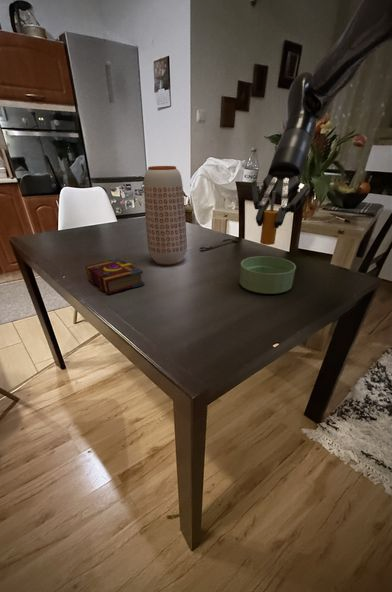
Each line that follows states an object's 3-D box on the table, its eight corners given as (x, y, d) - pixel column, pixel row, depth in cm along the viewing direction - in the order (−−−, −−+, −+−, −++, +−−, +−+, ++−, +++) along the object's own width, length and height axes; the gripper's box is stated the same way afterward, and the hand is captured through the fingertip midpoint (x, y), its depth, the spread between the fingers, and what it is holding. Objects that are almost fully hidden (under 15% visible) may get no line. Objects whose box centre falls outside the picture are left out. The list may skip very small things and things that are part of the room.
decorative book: (108, 296, 76) (104, 278, 74) (86, 279, 87) (82, 262, 84) (144, 285, 82) (142, 268, 79) (120, 270, 92) (117, 255, 90)
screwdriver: (273, 241, 69) (281, 190, 63) (275, 245, 67) (283, 192, 60) (259, 240, 70) (265, 190, 63) (260, 244, 67) (267, 192, 61)
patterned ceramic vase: (189, 266, 95) (187, 167, 79) (149, 269, 93) (139, 168, 77) (184, 254, 106) (182, 165, 89) (149, 256, 104) (139, 165, 88)
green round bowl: (287, 276, 87) (291, 256, 84) (296, 296, 75) (300, 275, 72) (238, 274, 89) (240, 255, 85) (239, 294, 77) (241, 273, 73)
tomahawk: (227, 240, 123) (227, 238, 123) (239, 242, 119) (239, 239, 118) (191, 249, 112) (191, 246, 111) (202, 251, 107) (202, 248, 107)
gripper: (258, 144, 65) (235, 211, 63) (323, 144, 60) (299, 217, 58) (262, 170, 72) (241, 231, 70) (320, 172, 66) (299, 238, 65)
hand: (267, 224), depth 64 cm, fingers closed on screwdriver, 3 cm apart
